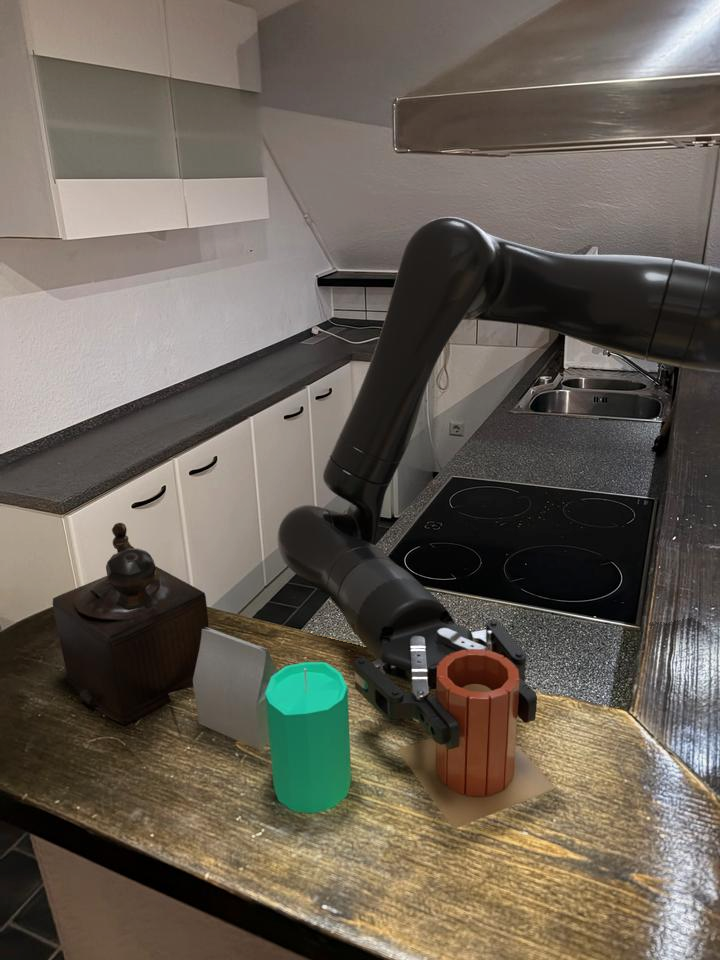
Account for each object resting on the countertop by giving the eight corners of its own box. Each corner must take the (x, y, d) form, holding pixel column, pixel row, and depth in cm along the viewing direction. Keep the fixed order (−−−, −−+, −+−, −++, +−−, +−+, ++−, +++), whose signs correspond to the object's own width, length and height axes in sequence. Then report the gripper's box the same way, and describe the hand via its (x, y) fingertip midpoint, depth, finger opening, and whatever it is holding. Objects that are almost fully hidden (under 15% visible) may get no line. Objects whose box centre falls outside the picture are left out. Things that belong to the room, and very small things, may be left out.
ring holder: (490, 730, 66) (494, 647, 63) (555, 803, 58) (563, 712, 55) (396, 763, 62) (395, 677, 59) (452, 844, 55) (455, 751, 52)
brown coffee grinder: (58, 685, 73) (21, 515, 67) (156, 635, 81) (132, 478, 74) (149, 760, 63) (117, 570, 57) (251, 696, 71) (234, 521, 64)
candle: (299, 761, 63) (290, 637, 58) (365, 783, 60) (360, 656, 56) (259, 812, 58) (246, 682, 54) (329, 839, 56) (321, 705, 51)
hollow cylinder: (486, 732, 63) (489, 641, 60) (528, 781, 58) (535, 684, 55) (422, 755, 61) (422, 661, 58) (460, 807, 56) (463, 708, 53)
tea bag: (261, 764, 63) (252, 663, 59) (200, 736, 66) (187, 638, 62) (288, 737, 66) (280, 639, 62) (228, 712, 69) (217, 617, 65)
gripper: (317, 596, 66) (406, 712, 51) (461, 560, 71) (579, 656, 57) (321, 668, 68) (407, 797, 54) (459, 629, 74) (571, 736, 59)
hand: (494, 724), depth 55 cm, fingers closed on hollow cylinder, 6 cm apart
